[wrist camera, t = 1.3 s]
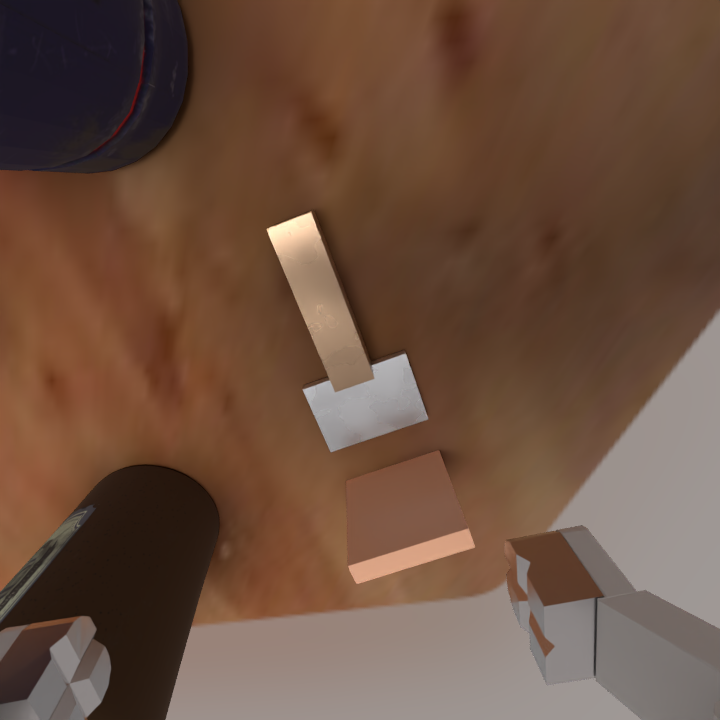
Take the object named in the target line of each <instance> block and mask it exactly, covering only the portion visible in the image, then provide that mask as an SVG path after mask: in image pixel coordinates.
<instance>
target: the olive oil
mask: <svg viewBox="0 0 720 720" xmlns="http://www.w3.org/2000/svg"><path fill="white" fill-rule="evenodd" d="M218 533H219V517H218V512H217V509H216V507H215V505H214V503H213V501H212V499H211V498H210V496H209V495H208V494H207V492H206V491H205V490H204V489H203V488H202V487H201V486H200V485H198V484H197V483H196V482H195V481H193V480H192V479H190V478H188V477H187V476H185V475H183V474H181V473H179V472H176V471H173V470H170V469H167V468H163V467H157V466H134V467H128V468H125V469H121V470H119V471H116V472H114V473H112V474H110V475H108V476H107V477H106V478H104V479H103V480H102V481H100V482H99V483H98V484H97V485H96V486H95V487H94V488H93V490H92V491H91V492H90V493H89V494H88V495H87V496H86V498H85V499H84V500H83V501H82V502H81V503H80V504H79V506H78V507H77V508H76V509H75V510H74V511H73V512H72V514H71V515H70V516H69V517H68V518H67V519H66V520H65V521H64V522H63V523H62V524H61V526H60V527H59V528H58V529H57V530H56V531H55V532H54V534H53V535H52V536H51V537H50V538H49V539H48V540H47V541H46V542H45V544H44V545H43V546H42V547H41V548H40V549H39V550H38V551H37V552H36V553H35V555H34V556H33V557H32V558H31V559H30V560H29V561H28V562H27V563H26V564H25V565H24V567H23V568H22V569H21V570H20V571H19V572H18V573H17V574H16V575H15V576H14V578H13V579H12V580H11V581H10V582H9V583H8V584H7V585H6V586H5V587H4V588H3V590H2V591H1V592H0V632H1V631H2V630H4V629H5V628H9V627H16V626H23V625H30V624H32V623H39V622H45V621H52V620H58V619H65V618H72V617H78V616H87V617H90V618H91V620H92V622H93V623H94V625H95V627H96V629H97V630H96V632H95V635H94V637H93V639H94V640H96V641H97V642H99V643H101V644H102V645H104V646H105V647H106V649H107V652H108V654H109V657H110V664H111V672H110V678H109V685H108V688H107V690H106V693H105V695H104V697H103V700H102V702H101V703H100V704H99V705H98V706H97V707H96V708H95V709H94V710H93V711H92V712H91V714H90V715H89V716H88V717H87V719H88V720H165V719H166V715H167V712H168V708H169V704H170V701H171V697H172V693H173V689H174V686H175V682H176V679H177V675H178V671H179V668H180V664H181V661H182V657H183V653H184V650H185V646H186V642H187V639H188V636H189V632H190V629H191V625H192V622H193V618H194V614H195V611H196V607H197V604H198V600H199V597H200V593H201V590H202V587H203V583H204V580H205V577H206V574H207V570H208V567H209V564H210V561H211V557H212V554H213V551H214V548H215V544H216V541H217V537H218Z"/></svg>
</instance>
